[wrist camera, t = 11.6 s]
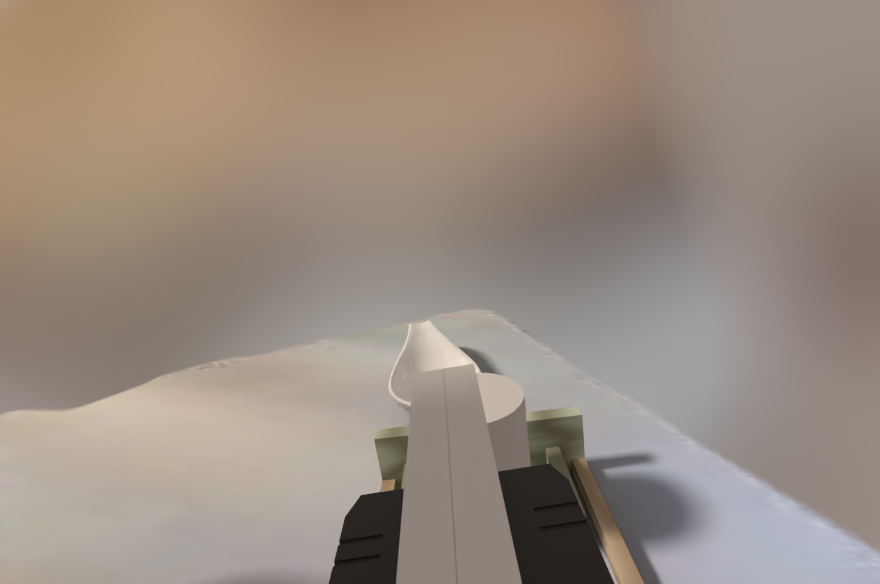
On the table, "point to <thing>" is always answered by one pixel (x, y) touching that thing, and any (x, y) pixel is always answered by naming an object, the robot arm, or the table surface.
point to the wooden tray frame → (549, 442)
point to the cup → (505, 420)
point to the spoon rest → (423, 359)
